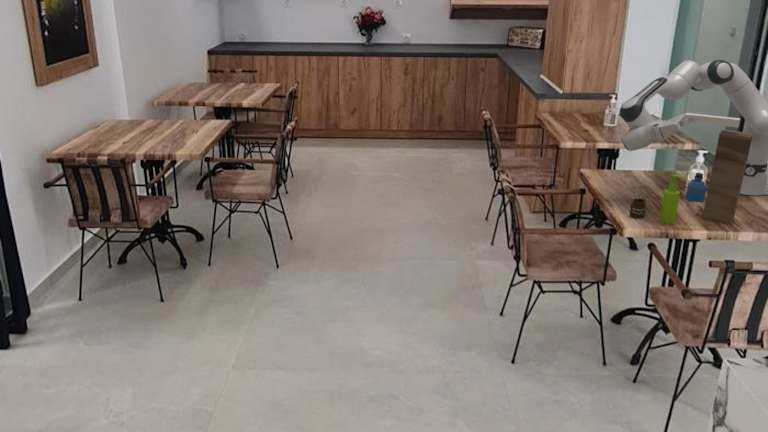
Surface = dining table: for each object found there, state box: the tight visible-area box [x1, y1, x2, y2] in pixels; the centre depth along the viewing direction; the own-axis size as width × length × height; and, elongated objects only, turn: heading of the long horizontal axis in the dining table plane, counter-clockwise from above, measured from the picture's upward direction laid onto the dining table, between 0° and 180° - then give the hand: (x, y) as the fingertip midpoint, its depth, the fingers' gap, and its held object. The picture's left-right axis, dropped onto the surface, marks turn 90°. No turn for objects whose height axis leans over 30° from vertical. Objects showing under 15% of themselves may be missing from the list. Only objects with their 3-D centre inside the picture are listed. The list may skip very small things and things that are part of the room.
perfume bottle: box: [685, 172, 707, 203], centre depth 291 cm, size 6×6×12 cm
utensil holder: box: [629, 189, 651, 220], centre depth 270 cm, size 6×6×12 cm
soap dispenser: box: [658, 173, 687, 225], centre depth 264 cm, size 6×7×20 cm
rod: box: [685, 112, 741, 128], centre depth 261 cm, size 3×20×3 cm, turn 58°
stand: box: [701, 129, 753, 226], centre depth 265 cm, size 9×11×36 cm
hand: (694, 117), depth 264 cm, fingers closed on rod, 3 cm apart
